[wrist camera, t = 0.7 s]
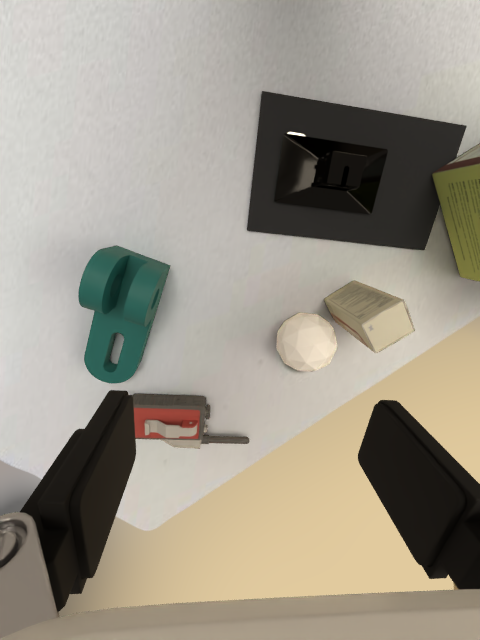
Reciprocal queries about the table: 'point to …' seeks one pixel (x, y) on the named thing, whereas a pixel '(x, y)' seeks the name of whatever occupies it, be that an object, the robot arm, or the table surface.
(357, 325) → the printed cream carton
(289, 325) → the geometric ball
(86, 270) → the bracket
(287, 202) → the build plate
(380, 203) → the desk mat
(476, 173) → the protein box
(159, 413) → the walkie-talkie
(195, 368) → the table surface
